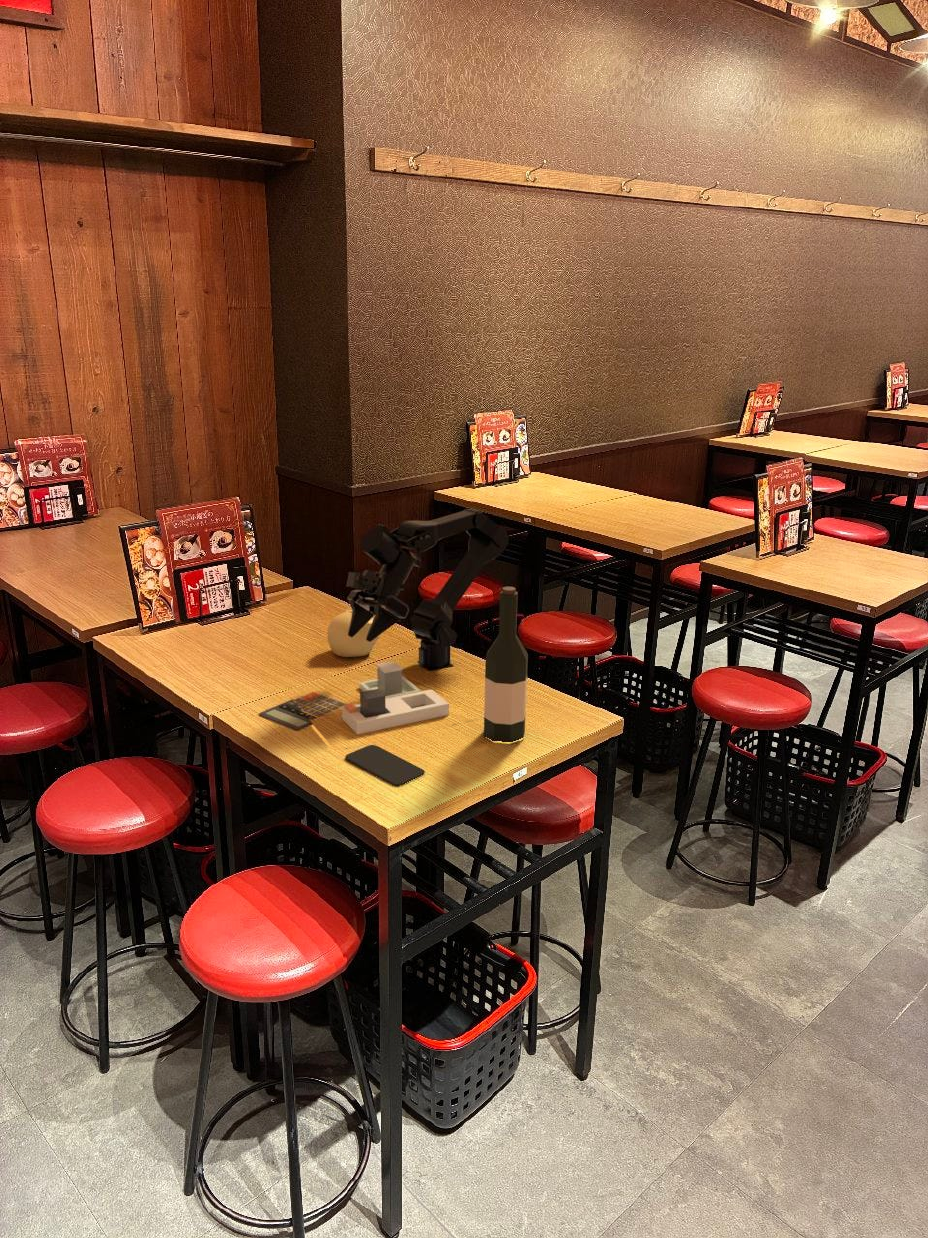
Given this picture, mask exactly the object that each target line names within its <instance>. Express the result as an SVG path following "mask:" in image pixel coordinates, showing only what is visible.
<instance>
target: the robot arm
mask: <svg viewBox="0 0 928 1238" xmlns="http://www.w3.org/2000/svg"><path fill="white" fill-rule="evenodd" d="M464 532H466V534H467V535H469V539H468V546H467V547H468V550H467V552H466V554H464V557H463V558H462V559H461V560H460V562H459V564H458V565H457V566H456V568H455V569H454V571H453V572H452V574H451V575H450V577H449V578H448V579H447V581H446V582H445V583H444V585H443V586H442V587H441V589H440V591H439V592H438V593H437V595H436V596H435V597H434V598H433V599H431V600H430V599H426V598H423V599H422V600H421V601H420V603H419V605H418V606H417V608H416V609H415V610H413V611H412V612H413V614H412V617H411V619H410V622H411V623H410V625H411V630H412V631H413V633H414V636H415V639H417V640H420V647H418V661H417V663H418V664H419V665H420V666H421V667H422V668H424V669H425V670H427V671H428V672H432V671H437V670H443V669H447V668H453V667H454V666H455V665H454V664H453V663H451V647H452V645H453V644H455V643H456V641H457V637H458V633H457V632H456V631H455V630H454V629H453V628H452V627H451V626H452V624H453V613H454V609H455V608H456V606H457V605H458V604H459V602H460V601H461V600H462V598H463V596H464V595H465V594H466V592H467V591H468V589H469V588H470V587H471V586H472V583H473V582H474V581H475V579H476V578H477V576H479V574H480V572H481V570H482V569H483V567H485V565H486V564H487V563H490V562H491V561H492V560H495V559H496V558H498V557H499V556H500V555H501V554H502V553H503V552H504V551H505V549H507V546H508V544H509V538H510V537H509V534H508V532H507V530H506V528H504V527H501V526H500V525H499V524H498V523H497V522H495V521H494V520H492V519H490V518H489V517H488V516H487V515H486V514H485V513H484V512H483V511H481V510H477V509H473V508H465V509H463V510H462V511H458V512H455V513H451V514H449V515H445V516H441V517H439V518H435V519H431V520H404V521H402V522H401V523H400V524H399V525H398V527H396V528H394V529H393V530H391V531H390V530H389V528H388V527H387V526H386V525H383V524H380V523H378V524H377V525H376V527H375V528H371V529H370V530H369V531H367V532H366V533H365V534H364V535H363V536H362V538H361V540H360V545H359V546H360V549H361V551H363V552H364V553H365V554H366V555H368V556H369V557H370V558H372V559H373V560H374V561H375V562H377V564H379V565H382V567H381V569H380V571H375V570H369V569H365V570H364V571H363V572H362V573H360V572H354V571H353V572H352V571H351V572H350V571H348V575H347V581H346V587H347V588H354V590H351V591H350V592H349V594H348V595H347V599H346V600H348V604H349V605H350V608H351V610H352V617H351V622H350V627H349V631H348V636H350V637H353V636H354V635H355V634H356V633H358V632H359V631H360V629H361V628H362V627H363V626H364V625H365V624H366V623H367V622H368V621H369V620H370V619H371V618H373V622H372V624H371V627H370V629H369V632H368V634H367V637H366V640H367V641H369V642H371V641H372V640H374V639H375V638H376V637H380V635H382V633H384V632H385V631H387V630H389V628H391V627H392V626H394V625H395V624H397V623H398V622H400V621H402V619H404V620H405V619H406V618H407V616H408V614H409V613H410V608H409V605H408V604H407V603H406V602H404V601H403V600H401V599H399V598H398V595H399V594H400V591H405V590H406V587H407V585H405V583H406V580H407V579H408V577H409V575H410V573H411V571H412V570H413V567H417V568H422V566H423V564H422V560H421V557H420V556H421V555H420V554H418V553H414V552H411V551H410V550H414V551H416V552H417V551H418V552H421V553H422V552H426V551H428V550H429V549H431V548H433V547H434V546H436V545H437V543H438V541H440V540H442V539H444V538H449V537H452V536H455V535H458V534H460V533H461V534H462V533H464ZM409 549H410V550H409ZM360 589H361V590H360Z"/></svg>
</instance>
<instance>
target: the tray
mask: <svg viewBox="0 0 928 1238" xmlns="http://www.w3.org/2000/svg"><path fill="white" fill-rule="evenodd" d="M358 683H359V685H358V686H359V687H358V688H359V689H360V690H362V691H361V692H364V691H369V690H374V689H378V678H375V679H371V680H365V681H361V682H358ZM421 691H422V690H421V689H420V688H418V686H416V685H415V684H413V683H412V682H411V681H410V680H408V679H407V677H405V676H404V675H402V693H399V694H394V695H389V696H385V699H386V698H391V697H396V696H401V695H406V694H411V693H416V692H421Z"/></svg>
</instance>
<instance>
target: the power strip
mask: <svg viewBox="0 0 928 1238" xmlns="http://www.w3.org/2000/svg"><path fill="white" fill-rule="evenodd" d="M359 701H360V703H356V704H353V702H349V703H345V704H344V706H342V707H341V713H342V714H341V715H342V717H341V718H342V720H343V721H344V722H345V723H346V724H347V726H349V728H350V729H352V731H353V732H354V733H355V734H356V735H357V736H358V735H362V734H367V733H372V732H377V731H382V730H387V729H391V728H395V727H399V726H404V725H408V724H409V725H410V724H413V723H414V724H415V723H419V722H423V721H428V720H431V719H436V718H442V717H446V716H450V702H448V701H447V700H445V699H444V698H443V697H442V696H441V695H439V694H438V693H436V692H435V691H434V690H433V689H428V690H427V689H426V690H421V692H416V693H411V694H406V695H401V696H396V697H391V698H386V699H385V695H384V694H383V693H382V692H381V691H380V690H378V689H374V690H369V691H360V692H359Z"/></svg>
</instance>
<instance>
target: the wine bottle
mask: <svg viewBox="0 0 928 1238" xmlns="http://www.w3.org/2000/svg"><path fill="white" fill-rule="evenodd" d="M518 593H519V592H518V591H516V587H514V586H503V587H502V590H501V591H500V592H499V614H498V615H499V620H498V635H497V636H496V638H495V640H494V642H493V643H492V644H491V646H490V648H489V649H488V650H487V652H486V656H485V668H484V669H485V671H484V673H485V674H484V710H483V711H484V713H483V717H484V718H483V737H484V738H485V737H487V738H489V739H491V740H492V741H502V742H513V741H516V740H519V739H521V738H523V737H525V734H524V733H526V714H527V711H526V709H527V686H528V685H527V683H528V663H529V661H528V660H529V654H528V652H527V650H526V648H525V647H524V645H523V643H522V642H521V640H520V638H519V637H518V635H517V626H518V621H517V620H518V600H519V599H518V595H519V594H518ZM487 738H486V739H487ZM523 739H524V738H523Z"/></svg>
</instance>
